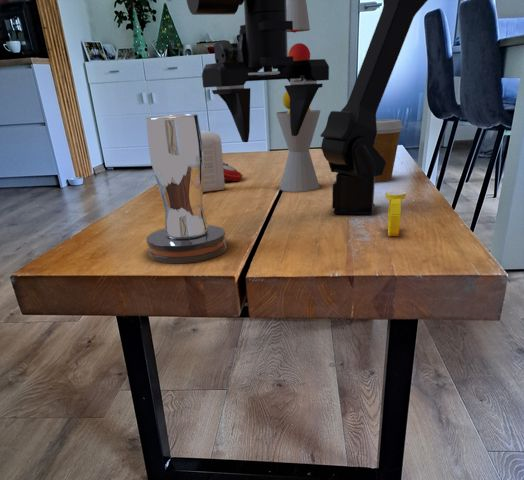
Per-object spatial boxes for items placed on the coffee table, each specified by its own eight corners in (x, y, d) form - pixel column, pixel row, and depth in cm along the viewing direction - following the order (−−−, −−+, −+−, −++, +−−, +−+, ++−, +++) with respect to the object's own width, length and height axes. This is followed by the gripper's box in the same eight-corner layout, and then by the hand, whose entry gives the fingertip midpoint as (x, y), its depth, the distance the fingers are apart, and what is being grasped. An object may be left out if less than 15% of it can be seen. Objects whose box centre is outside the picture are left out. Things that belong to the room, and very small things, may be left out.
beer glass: (219, 228, 71) (208, 113, 63) (198, 241, 65) (183, 117, 58) (177, 226, 73) (161, 115, 66) (152, 239, 67) (133, 119, 60)
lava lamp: (309, 182, 112) (308, -6, 95) (327, 188, 104) (329, -14, 87) (272, 186, 109) (264, -5, 92) (288, 193, 102) (283, -14, 85)
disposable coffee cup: (353, 177, 114) (354, 120, 109) (394, 174, 114) (398, 118, 108) (358, 184, 106) (361, 124, 100) (402, 182, 106) (407, 121, 100)
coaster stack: (236, 240, 73) (235, 224, 72) (210, 264, 64) (208, 247, 63) (169, 239, 76) (166, 223, 75) (135, 262, 66) (131, 244, 65)
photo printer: (220, 187, 112) (215, 128, 106) (228, 189, 109) (223, 129, 103) (178, 193, 108) (170, 132, 102) (184, 196, 105) (176, 133, 99)
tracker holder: (251, 174, 118) (214, 169, 112) (246, 192, 120) (210, 188, 115) (228, 158, 126) (193, 152, 120) (224, 175, 128) (189, 170, 122)
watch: (382, 228, 75) (385, 188, 72) (401, 228, 74) (404, 187, 71) (383, 239, 70) (386, 196, 67) (403, 239, 69) (407, 196, 66)
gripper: (284, 22, 77) (287, 131, 84) (177, 21, 68) (191, 142, 75) (332, 12, 69) (330, 133, 76) (217, 9, 60) (228, 147, 67)
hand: (270, 138), depth 74 cm, fingers open, 9 cm apart
